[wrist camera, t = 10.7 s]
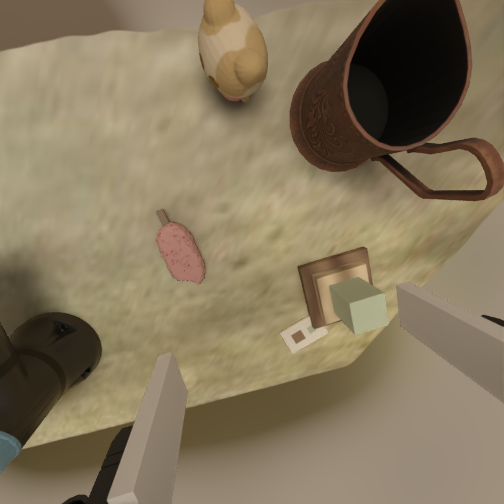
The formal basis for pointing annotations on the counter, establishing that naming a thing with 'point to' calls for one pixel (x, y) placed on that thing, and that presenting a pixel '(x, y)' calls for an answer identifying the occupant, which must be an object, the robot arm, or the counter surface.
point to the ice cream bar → (179, 251)
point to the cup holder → (392, 95)
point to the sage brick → (359, 305)
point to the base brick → (331, 282)
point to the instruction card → (301, 334)
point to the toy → (232, 50)
